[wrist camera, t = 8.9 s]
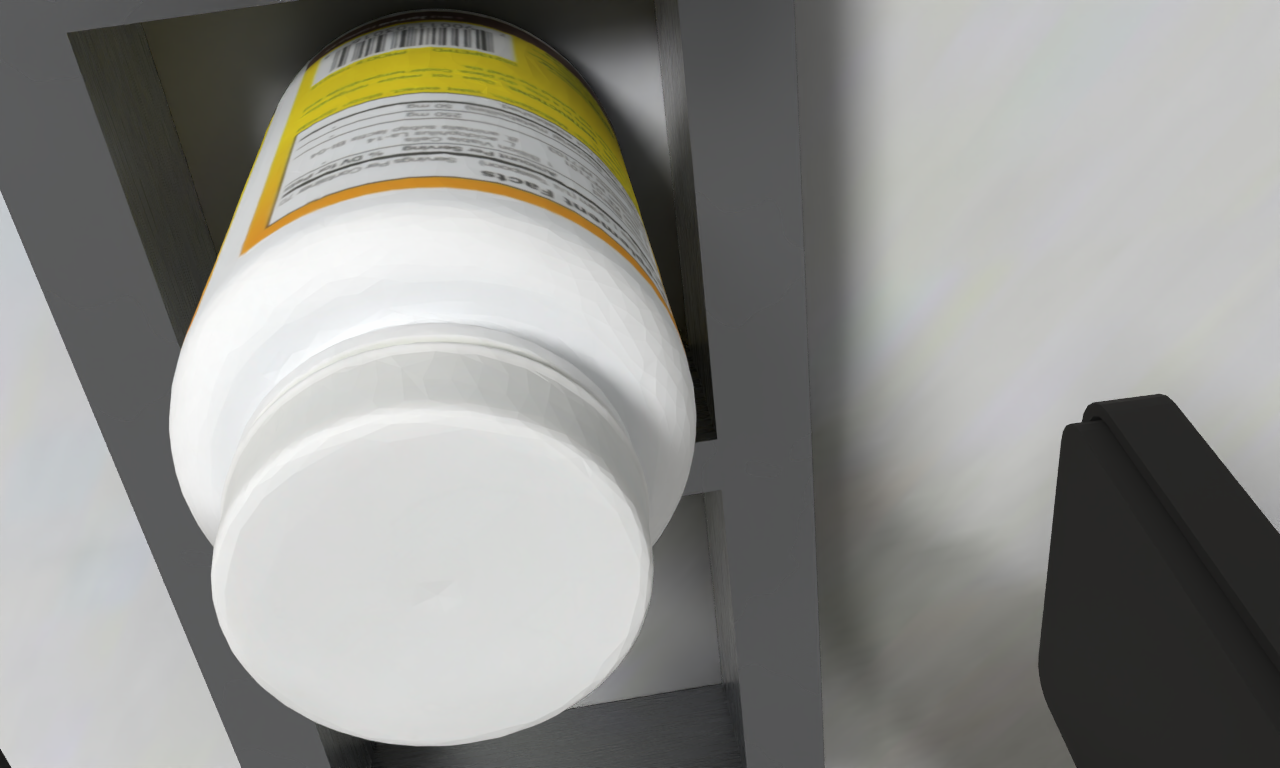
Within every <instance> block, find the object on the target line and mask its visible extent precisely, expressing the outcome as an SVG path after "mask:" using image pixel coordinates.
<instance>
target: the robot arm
mask: <svg viewBox="0 0 1280 768" xmlns="http://www.w3.org/2000/svg"><path fill="white" fill-rule="evenodd" d="M1038 666H1039V676H1040V681H1041V687H1042V690H1043V694H1044V697H1045V700H1046V702H1047V705H1048V707H1049V709H1050V711H1051V714H1052V716H1053V718H1054V720H1055V722H1056V724H1057V726H1058V729H1059V731H1060V733H1061V735H1062V737H1063V739H1064V741H1065V743H1066V746H1067V748H1068V750H1069V752H1070V754H1071V756H1072V758H1073V761H1074V763H1075V765H1076V767H1077V768H1280V534H1279V533H1278V532H1277V530H1276V529H1275V528H1274V527H1273V525H1272V524H1271V523H1270V521H1269V520H1268V519H1267V518H1266V516H1265V515H1264V514H1263V513H1262V511H1261V510H1260V509H1259V508H1258V506H1257V505H1256V504H1255V503H1254V501H1253V500H1252V499H1251V498H1250V496H1249V495H1248V494H1247V493H1246V491H1245V490H1244V489H1243V488H1242V486H1241V485H1240V484H1239V483H1238V481H1237V480H1236V479H1235V478H1234V476H1233V475H1232V474H1231V473H1230V471H1229V470H1228V469H1227V468H1226V466H1225V465H1224V464H1223V463H1222V461H1221V460H1220V459H1219V458H1218V456H1217V455H1216V454H1215V453H1214V451H1213V450H1212V449H1211V448H1210V446H1209V445H1208V444H1207V443H1206V441H1205V440H1204V439H1203V438H1202V436H1201V435H1200V434H1199V433H1198V431H1197V430H1196V429H1195V428H1194V426H1193V425H1192V424H1191V423H1190V421H1189V420H1188V419H1187V418H1186V416H1185V415H1184V414H1183V413H1182V411H1181V410H1180V409H1179V408H1178V406H1177V405H1176V404H1175V403H1174V402H1173V401H1172V400H1171V399H1170V398H1169V397H1168V396H1166V395H1162V394H1155V395H1147V396H1140V397H1132V398H1124V399H1117V400H1109V401H1102V402H1094V403H1092V404H1090V405H1088V406H1087V408H1086V410H1085V412H1084V414H1083V419H1082V422H1081V423H1073V424H1069V425H1067V426H1066V427H1065V429H1064V431H1063V434H1062V439H1061V448H1060V458H1059V467H1058V477H1057V486H1056V496H1055V505H1054V515H1053V524H1052V534H1051V543H1050V553H1049V562H1048V572H1047V582H1046V591H1045V601H1044V610H1043V620H1042V629H1041V639H1040V648H1039V662H1038ZM0 768H11V766H10V765H9V763H8V761H7V760H6V758H5V756H4V754H3V753H2V751H1V749H0Z"/></svg>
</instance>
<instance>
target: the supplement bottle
mask: <svg viewBox="0 0 1280 768" xmlns="http://www.w3.org/2000/svg"><path fill="white" fill-rule="evenodd" d="M169 433H170V443H171V451H172V456H173V461H174V466H175V471H176V475H177V478H178V481H179V484H180V488H181V491H182V494H183V496H184V498H185V500H186V502H187V504H188V506H189V508H190V511H191V513H192V515H193V516H194V518H195V520H196V522H197V524H198V526H199V527H200V529H201V530H202V532H203V533H204V535H205V536H206V538H207V539H208V540H209V542H210V543H211V544H212V546H213V547H214V549H213V559H212V569H211V585H212V599H213V603H214V607H215V610H216V614H217V618H218V621H219V625H220V627H221V629H222V631H223V634H224V636H225V638H226V640H227V642H228V644H229V646H230V648H231V650H232V652H233V654H234V655H235V656H236V658H237V659H238V660H239V662H240V663H241V664H242V666H243V667H244V668H245V669H246V670H247V672H248V673H249V674H250V675H251V676H252V677H253V678H254V680H255V681H256V682H257V683H258V684H259V685H260V686H262V687H263V688H264V689H265V690H266V691H267V692H269V693H270V694H271V695H273V696H274V697H275V698H276V699H278V700H279V701H280V702H282V703H283V704H284V705H286V706H287V707H289V708H291V709H293V710H294V711H296V712H298V713H300V714H301V715H303V716H305V717H307V718H308V719H310V720H312V721H314V722H316V723H318V724H321V725H323V726H326V727H328V728H331V729H333V730H336V731H339V732H342V733H346V734H349V735H352V736H356V737H360V738H363V739H367V740H372V741H377V742H382V743H388V744H397V745H408V746H452V745H459V744H467V743H473V742H478V741H484V740H489V739H494V738H500V737H503V736H506V735H509V734H512V733H515V732H517V731H520V730H523V729H526V728H529V727H532V726H535V725H537V724H540V723H542V722H544V721H546V720H548V719H550V718H552V717H554V716H556V715H558V714H560V713H561V712H563V711H565V710H566V709H568V708H569V707H571V706H573V705H574V704H576V703H578V702H579V701H581V700H582V699H583V698H585V697H586V696H587V695H588V694H590V693H591V692H592V691H594V690H595V689H596V688H597V687H599V686H600V685H601V684H602V683H603V682H604V681H605V680H606V679H607V678H608V677H609V676H610V675H611V674H612V672H613V671H614V670H615V669H616V668H617V667H618V666H619V664H620V663H621V662H622V660H623V659H624V658H625V656H626V655H627V654H628V652H629V651H630V650H631V648H632V646H633V644H634V642H635V641H636V639H637V637H638V635H639V633H640V631H641V628H642V626H643V623H644V620H645V617H646V615H647V612H648V609H649V606H650V600H651V595H652V589H653V574H654V561H653V554H652V547H653V545H654V544H655V543H656V541H657V540H658V539H659V537H660V536H661V534H662V533H663V531H664V529H665V528H666V526H667V524H668V523H669V521H670V519H671V517H672V515H673V513H674V511H675V509H676V507H677V505H678V503H679V501H680V499H681V496H682V494H683V491H684V488H685V485H686V482H687V479H688V476H689V472H690V468H691V463H692V458H693V454H694V446H695V437H696V406H695V396H694V387H693V382H692V378H691V374H690V370H689V366H688V361H687V357H686V352H685V350H684V347H683V344H682V341H681V338H680V335H679V332H678V329H677V326H676V323H675V320H674V317H673V314H672V311H671V308H670V305H669V302H668V299H667V296H666V293H665V290H664V286H663V283H662V280H661V276H660V272H659V269H658V266H657V263H656V260H655V257H654V254H653V251H652V248H651V245H650V242H649V239H648V236H647V233H646V230H645V227H644V224H643V220H642V217H641V214H640V210H639V207H638V204H637V200H636V198H635V195H634V192H633V188H632V185H631V182H630V179H629V176H628V173H627V170H626V167H625V164H624V160H623V157H622V154H621V149H620V146H619V143H618V141H617V138H616V135H615V132H614V129H613V127H612V124H611V122H610V120H609V118H608V116H607V114H606V112H605V110H604V108H603V107H602V105H601V103H600V101H599V100H598V98H597V96H596V95H595V93H594V92H593V90H592V89H591V87H590V86H589V85H588V83H587V82H586V81H585V79H584V78H583V77H582V76H581V74H580V73H579V72H578V71H577V70H576V69H575V68H574V67H573V65H572V64H571V63H570V62H569V61H568V60H566V59H565V58H564V57H563V56H562V55H561V54H559V53H558V52H557V51H556V50H555V49H553V48H552V47H551V46H549V45H548V44H547V43H545V42H544V41H542V40H541V39H539V38H537V37H536V36H534V35H532V34H531V33H529V32H527V31H525V30H523V29H521V28H519V27H517V26H515V25H513V24H510V23H508V22H505V21H503V20H500V19H497V18H494V17H491V16H487V15H483V14H479V13H475V12H469V11H462V10H454V9H418V10H410V11H404V12H398V13H394V14H390V15H386V16H383V17H380V18H377V19H374V20H372V21H369V22H367V23H364V24H361V25H359V26H357V27H355V28H353V29H351V30H350V31H348V32H346V33H344V34H343V35H341V36H339V37H338V38H336V39H335V40H333V41H332V42H331V43H329V44H328V45H326V46H325V47H324V48H323V49H321V50H320V51H319V52H318V53H317V54H316V55H315V56H314V57H313V58H312V59H311V60H309V61H308V62H307V63H306V64H305V65H304V67H303V68H302V69H301V70H300V71H299V73H298V74H297V75H296V76H295V78H294V79H293V81H292V82H291V83H290V85H289V86H288V88H287V89H286V91H285V93H284V95H283V96H282V98H281V100H280V102H279V104H278V105H277V108H276V110H275V112H274V115H273V117H272V119H271V121H270V123H269V126H268V128H267V130H266V133H265V135H264V138H263V141H262V144H261V146H260V149H259V151H258V154H257V156H256V159H255V162H254V164H253V166H252V169H251V171H250V174H249V176H248V179H247V181H246V184H245V186H244V189H243V192H242V194H241V197H240V200H239V202H238V205H237V207H236V210H235V213H234V215H233V218H232V221H231V223H230V226H229V228H228V231H227V234H226V236H225V239H224V241H223V244H222V246H221V249H220V251H219V254H218V257H217V259H216V262H215V264H214V267H213V269H212V272H211V274H210V277H209V279H208V281H207V284H206V286H205V289H204V291H203V293H202V296H201V299H200V302H199V304H198V306H197V309H196V311H195V314H194V316H193V319H192V321H191V324H190V326H189V328H188V331H187V334H186V336H185V339H184V342H183V345H182V348H181V351H180V355H179V359H178V363H177V367H176V371H175V375H174V379H173V383H172V390H171V402H170V414H169Z"/></svg>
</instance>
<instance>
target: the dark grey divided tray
mask: <svg viewBox="0 0 1280 768" xmlns="http://www.w3.org/2000/svg"><path fill="white" fill-rule="evenodd" d="M290 1H297V0H0V190H1V193H2V195H3V198H4V200H5V202H6V205H7V207H8V210H9V212H10V214H11V217H12V219H13V222H14V224H15V226H16V229H17V231H18V234H19V236H20V238H21V241H22V243H23V246H24V248H25V250H26V253H27V255H28V258H29V260H30V262H31V265H32V267H33V270H34V272H35V274H36V277H37V279H38V281H39V284H40V286H41V289H42V291H43V293H44V296H45V298H46V301H47V303H48V305H49V308H50V310H51V313H52V315H53V317H54V320H55V322H56V325H57V327H58V329H59V332H60V334H61V337H62V339H63V341H64V344H65V346H66V349H67V351H68V353H69V356H70V358H71V361H72V363H73V365H74V368H75V370H76V373H77V375H78V377H79V380H80V382H81V384H82V387H83V389H84V392H85V394H86V396H87V399H88V401H89V404H90V406H91V408H92V411H93V413H94V416H95V418H96V420H97V423H98V425H99V428H100V430H101V432H102V435H103V437H104V440H105V442H106V444H107V447H108V449H109V452H110V454H111V456H112V459H113V461H114V464H115V466H116V468H117V471H118V473H119V475H120V478H121V480H122V483H123V485H124V487H125V490H126V492H127V495H128V497H129V499H130V502H131V504H132V507H133V509H134V511H135V514H136V516H137V519H138V521H139V523H140V526H141V528H142V531H143V533H144V535H145V538H146V540H147V543H148V545H149V547H150V550H151V552H152V555H153V557H154V559H155V562H156V564H157V566H158V569H159V571H160V574H161V576H162V578H163V581H164V583H165V586H166V588H167V590H168V593H169V595H170V598H171V600H172V602H173V605H174V607H175V610H176V612H177V614H178V617H179V619H180V622H181V624H182V626H183V629H184V631H185V634H186V636H187V638H188V641H189V643H190V646H191V648H192V650H193V653H194V655H195V658H196V660H197V662H198V665H199V667H200V669H201V672H202V674H203V677H204V679H205V681H206V684H207V686H208V689H209V691H210V693H211V696H212V698H213V701H214V703H215V705H216V708H217V710H218V713H219V715H220V717H221V720H222V722H223V725H224V727H225V729H226V732H227V734H228V737H229V739H230V741H231V744H232V746H233V749H234V751H235V753H236V756H237V758H238V760H239V763H240V765H241V768H825V765H824V740H823V715H822V690H821V665H820V639H819V614H818V589H817V564H816V539H815V513H814V488H813V463H812V438H811V413H810V387H809V362H808V337H807V312H806V287H805V261H804V236H803V211H802V186H801V161H800V136H799V110H798V85H797V60H796V35H795V10H794V0H654V7H655V17H656V27H657V37H658V46H659V56H660V66H661V76H662V86H663V96H664V106H665V116H666V126H667V136H668V146H669V156H670V166H671V176H672V186H673V196H674V206H675V216H676V226H677V236H678V246H679V256H680V266H681V276H682V286H683V295H684V305H685V315H686V325H687V335H688V345H687V346H683V347H684V350H685V352H686V357H687V361H688V366H689V370H690V374H691V378H692V382H693V387H694V396H695V406H696V437H695V446H694V454H693V458H692V463H691V468H690V472H689V476H688V479H687V482H686V485H685V488H684V491H683V494H682V496H686V495H693V494H699V493H703V495H704V505H705V515H706V525H707V535H708V544H709V554H710V564H711V574H712V584H713V594H714V604H715V614H716V624H717V634H718V644H719V654H720V664H721V674H722V684H719V685H713V686H707V687H701V688H695V689H689V690H683V691H677V692H671V693H665V694H659V695H653V696H647V697H641V698H635V699H629V700H623V701H617V702H611V703H605V704H599V705H592V706H586V707H580V708H574V709H568V710H565V711H563V712H561V713H560V714H558V715H556V716H554V717H552V718H550V719H548V720H546V721H544V722H542V723H540V724H537V725H535V726H532V727H529V728H526V729H523V730H520V731H517V732H515V733H512V734H509V735H506V736H503V737H500V738H494V739H489V740H484V741H478V742H473V743H467V744H459V745H452V746H408V745H397V744H388V743H382V742H377V741H376V742H375V741H372V740H367V739H363V738H360V737H356V736H352V735H349V734H346V733H342V732H339V731H336V730H333V729H331V728H328V727H326V726H323V725H321V724H318V723H316V722H314V721H312V720H310V719H308V718H307V717H305V716H303V715H301V714H300V713H298V712H296V711H294V710H293V709H291V708H289V707H287V706H286V705H284V704H283V703H282V702H280V701H279V700H278V699H276V698H275V697H274V696H273V695H271V694H270V693H269V692H267V691H266V690H265V689H264V688H263V687H262V686H260V685H259V684H258V683H257V682H256V681H255V680H254V678H253V677H252V676H251V675H250V674H249V673H248V672H247V670H246V669H245V668H244V667H243V666H242V664H241V663H240V662H239V660H238V659H237V658H236V656H235V655H234V654H233V652H232V650H231V648H230V646H229V644H228V642H227V640H226V638H225V636H224V634H223V631H222V629H221V627H220V625H219V621H218V618H217V614H216V610H215V607H214V603H213V599H212V585H211V569H212V559H213V549H214V547H213V546H212V544H211V543H210V542H209V540H208V539H207V538H206V536H205V535H204V533H203V532H202V530H201V529H200V527H199V526H198V524H197V522H196V520H195V518H194V516H193V515H192V513H191V511H190V508H189V506H188V504H187V502H186V500H185V498H184V496H183V494H182V491H181V488H180V484H179V481H178V478H177V475H176V471H175V466H174V461H173V456H172V451H171V443H170V433H169V414H170V402H171V390H172V383H173V379H174V375H175V371H176V367H177V363H178V359H179V355H180V351H181V348H182V345H183V342H184V339H185V336H186V334H187V331H188V328H189V326H190V324H191V321H192V319H193V316H194V314H195V311H196V309H197V306H198V304H199V302H200V299H201V296H202V293H203V291H204V289H205V286H206V284H207V281H208V279H209V277H210V274H211V272H212V269H213V267H214V264H215V262H216V259H217V255H216V252H215V249H214V245H213V242H212V239H211V236H210V233H209V230H208V227H207V224H206V221H205V218H204V215H203V212H202V209H201V206H200V202H199V199H198V196H197V193H196V190H195V187H194V184H193V181H192V178H191V175H190V172H189V169H188V166H187V163H186V159H185V156H184V153H183V150H182V147H181V144H180V141H179V138H178V135H177V132H176V129H175V126H174V123H173V120H172V116H171V113H170V110H169V107H168V104H167V101H166V98H165V95H164V92H163V89H162V86H161V83H160V80H159V77H158V73H157V70H156V67H155V64H154V61H153V58H152V55H151V52H150V49H149V46H148V43H147V40H146V37H145V34H144V30H143V27H142V24H141V22H147V21H154V20H161V19H168V18H175V17H183V16H190V15H197V14H204V13H211V12H218V11H226V10H233V9H240V8H247V7H254V6H261V5H268V4H276V3H283V2H290Z"/></svg>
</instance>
